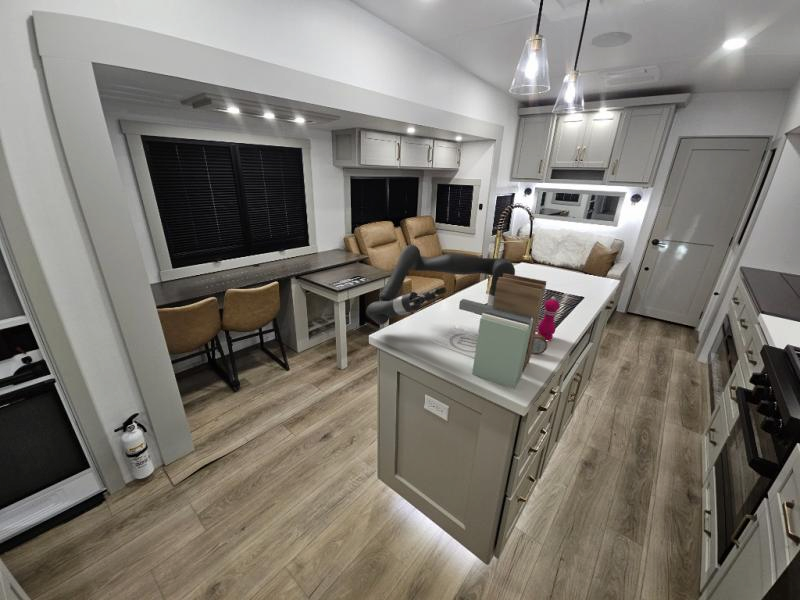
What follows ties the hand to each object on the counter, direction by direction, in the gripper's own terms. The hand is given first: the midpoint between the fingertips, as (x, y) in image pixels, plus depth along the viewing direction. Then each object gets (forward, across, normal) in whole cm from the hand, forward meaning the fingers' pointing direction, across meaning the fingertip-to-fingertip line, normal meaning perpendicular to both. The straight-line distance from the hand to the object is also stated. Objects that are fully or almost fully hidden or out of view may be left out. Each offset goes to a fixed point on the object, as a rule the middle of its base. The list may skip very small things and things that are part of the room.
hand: (440, 292), depth 117 cm
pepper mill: (+16, +44, +40) cm, 61 cm away
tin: (+13, +25, +38) cm, 47 cm away
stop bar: (+16, 0, +14) cm, 21 cm away
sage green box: (+9, 0, +35) cm, 36 cm away
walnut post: (+9, +13, +35) cm, 38 cm away
